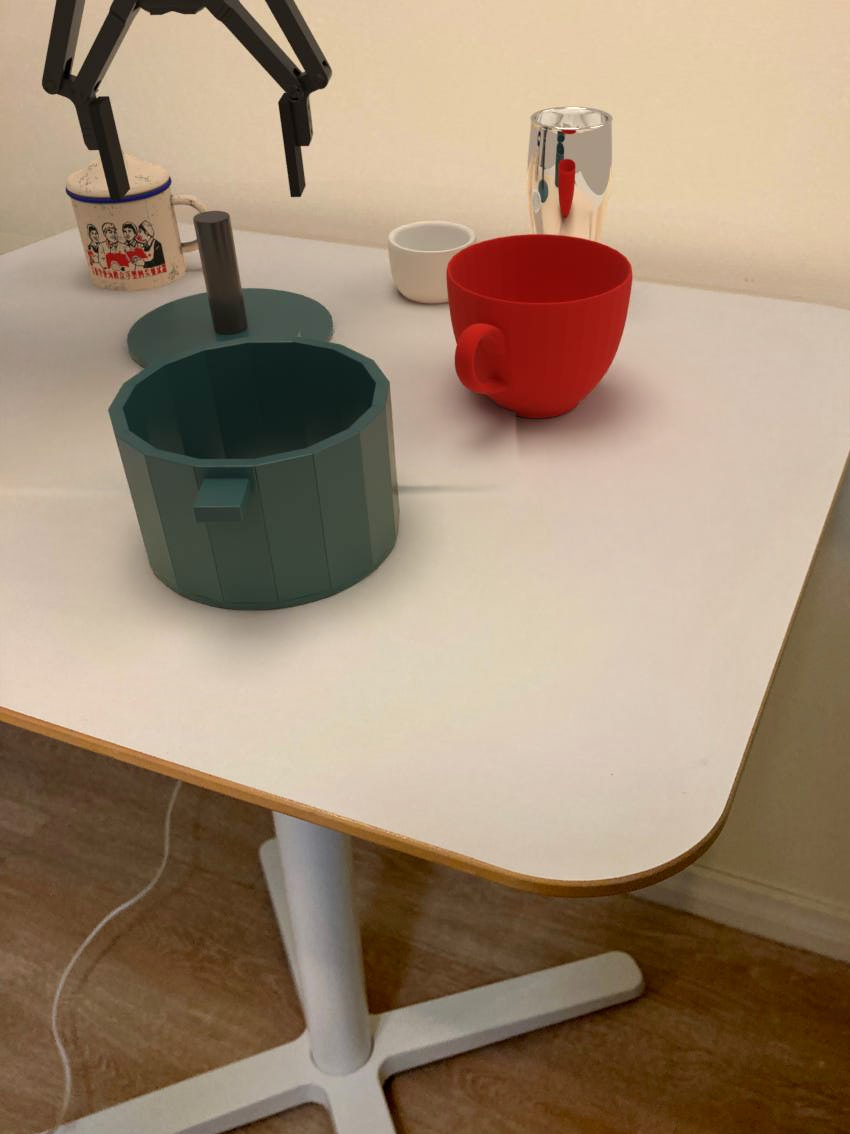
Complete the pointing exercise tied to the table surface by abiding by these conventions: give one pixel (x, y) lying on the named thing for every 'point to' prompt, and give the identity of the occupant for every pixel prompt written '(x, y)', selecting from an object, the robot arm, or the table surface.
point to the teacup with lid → (130, 226)
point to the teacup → (426, 257)
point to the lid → (222, 304)
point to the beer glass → (569, 171)
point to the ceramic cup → (537, 319)
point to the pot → (261, 468)
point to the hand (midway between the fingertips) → (209, 193)
